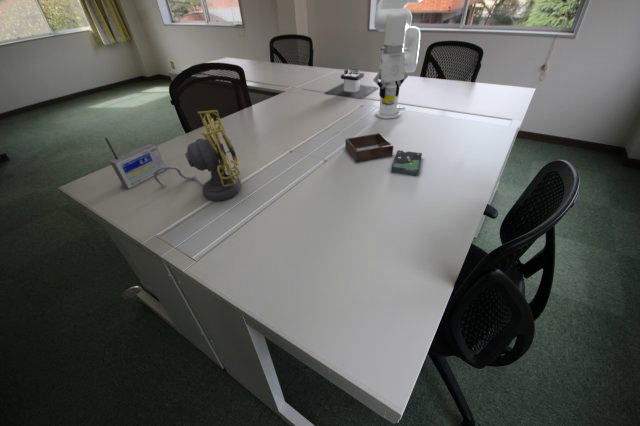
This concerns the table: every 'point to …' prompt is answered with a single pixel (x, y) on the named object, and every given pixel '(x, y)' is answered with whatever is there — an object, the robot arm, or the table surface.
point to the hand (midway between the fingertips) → (388, 96)
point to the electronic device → (137, 164)
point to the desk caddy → (368, 154)
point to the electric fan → (212, 161)
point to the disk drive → (406, 162)
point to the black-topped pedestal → (352, 86)
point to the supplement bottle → (389, 94)
